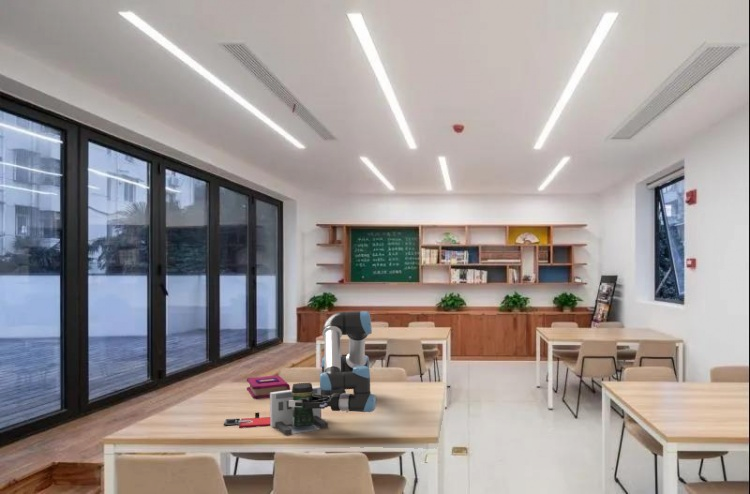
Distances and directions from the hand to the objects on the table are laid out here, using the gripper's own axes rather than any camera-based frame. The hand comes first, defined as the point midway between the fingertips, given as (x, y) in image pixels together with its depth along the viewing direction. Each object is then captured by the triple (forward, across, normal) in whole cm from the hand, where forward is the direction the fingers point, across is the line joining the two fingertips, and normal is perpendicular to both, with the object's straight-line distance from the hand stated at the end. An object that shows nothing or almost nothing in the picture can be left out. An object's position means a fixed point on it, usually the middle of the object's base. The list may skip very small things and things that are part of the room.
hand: (292, 400), depth 224 cm
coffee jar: (-5, 0, -11) cm, 12 cm away
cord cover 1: (+3, -4, -12) cm, 13 cm away
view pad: (-5, 0, -12) cm, 13 cm away
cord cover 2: (-10, +7, -12) cm, 17 cm away
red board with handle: (+21, +6, -13) cm, 25 cm away
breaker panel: (+2, +8, -12) cm, 15 cm away
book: (+42, +66, -13) cm, 79 cm away
